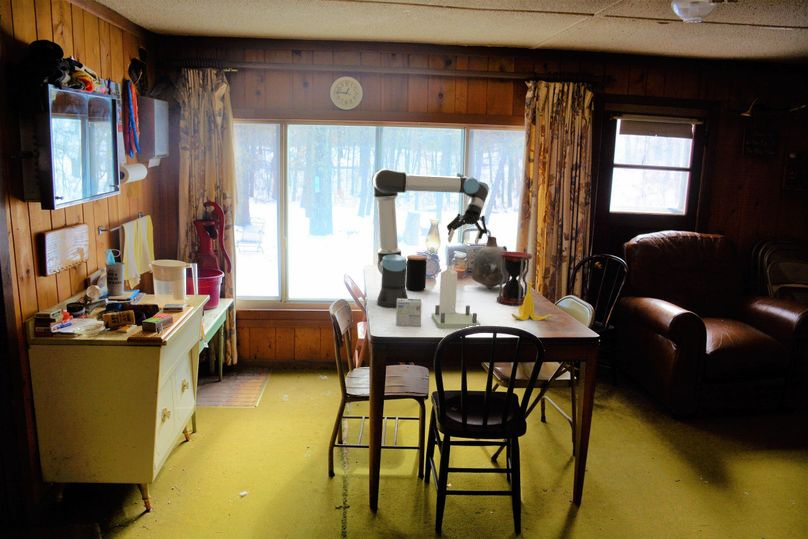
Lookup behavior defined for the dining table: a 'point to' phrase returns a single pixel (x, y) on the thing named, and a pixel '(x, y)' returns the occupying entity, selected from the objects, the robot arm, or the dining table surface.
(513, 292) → the hourglass
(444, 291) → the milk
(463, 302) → the dining table surface
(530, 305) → the banana peel
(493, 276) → the jug
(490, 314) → the dining table surface
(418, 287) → the coffee jar
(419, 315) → the light bulb box
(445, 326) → the peg board
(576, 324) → the dining table surface
